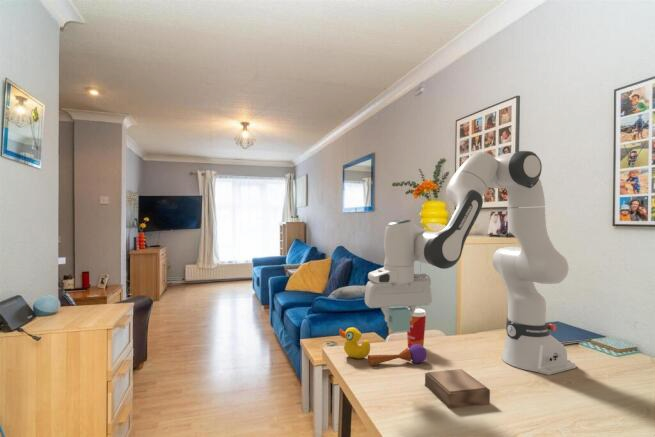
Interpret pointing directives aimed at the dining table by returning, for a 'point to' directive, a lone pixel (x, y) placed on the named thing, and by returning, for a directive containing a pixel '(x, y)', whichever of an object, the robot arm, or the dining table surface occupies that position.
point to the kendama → (401, 355)
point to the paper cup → (417, 328)
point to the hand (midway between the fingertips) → (398, 320)
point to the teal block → (399, 318)
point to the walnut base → (457, 388)
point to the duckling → (354, 343)
